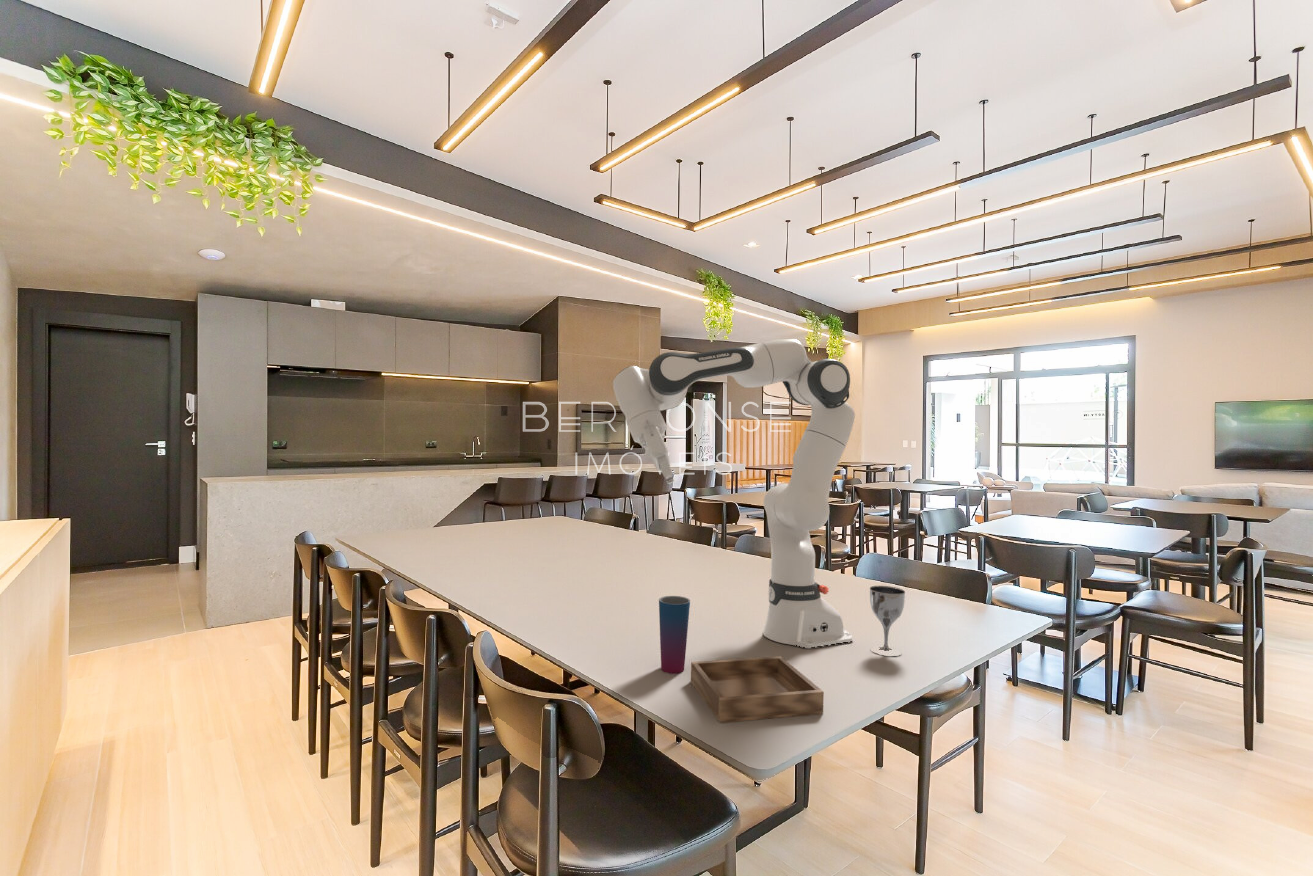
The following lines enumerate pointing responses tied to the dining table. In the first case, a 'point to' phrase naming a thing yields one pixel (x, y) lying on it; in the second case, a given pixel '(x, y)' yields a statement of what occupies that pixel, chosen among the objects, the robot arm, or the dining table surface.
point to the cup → (673, 632)
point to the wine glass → (887, 607)
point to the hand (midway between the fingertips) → (670, 479)
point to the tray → (755, 689)
